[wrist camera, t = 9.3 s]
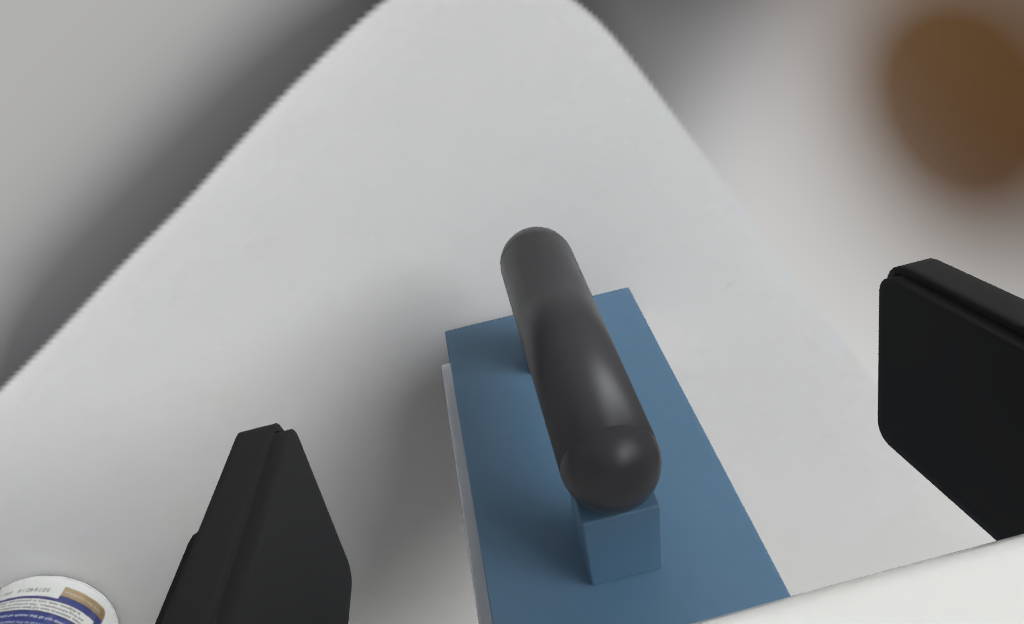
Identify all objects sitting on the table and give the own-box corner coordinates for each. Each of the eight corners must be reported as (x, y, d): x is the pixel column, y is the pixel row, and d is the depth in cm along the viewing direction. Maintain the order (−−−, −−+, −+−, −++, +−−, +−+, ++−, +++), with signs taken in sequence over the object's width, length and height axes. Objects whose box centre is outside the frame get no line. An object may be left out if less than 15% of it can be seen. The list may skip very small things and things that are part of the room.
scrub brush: (835, 751, 17) (910, 546, 11) (519, 836, 17) (431, 670, 11) (641, 352, 29) (629, 150, 23) (451, 399, 29) (391, 206, 23)
